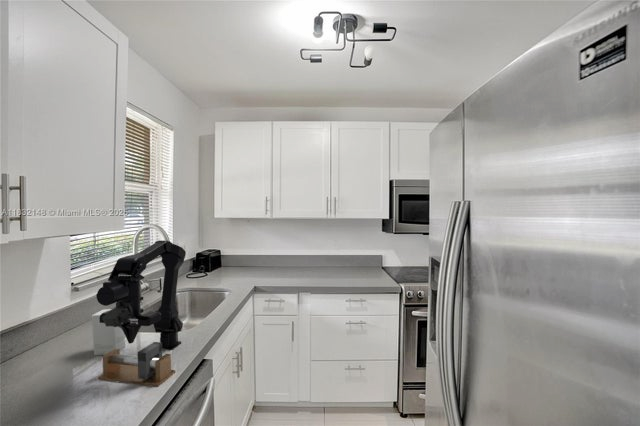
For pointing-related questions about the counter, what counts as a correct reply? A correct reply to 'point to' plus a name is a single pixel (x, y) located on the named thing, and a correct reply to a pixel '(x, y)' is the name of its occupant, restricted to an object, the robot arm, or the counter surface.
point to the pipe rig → (134, 369)
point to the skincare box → (106, 336)
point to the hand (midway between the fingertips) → (131, 343)
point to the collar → (144, 357)
